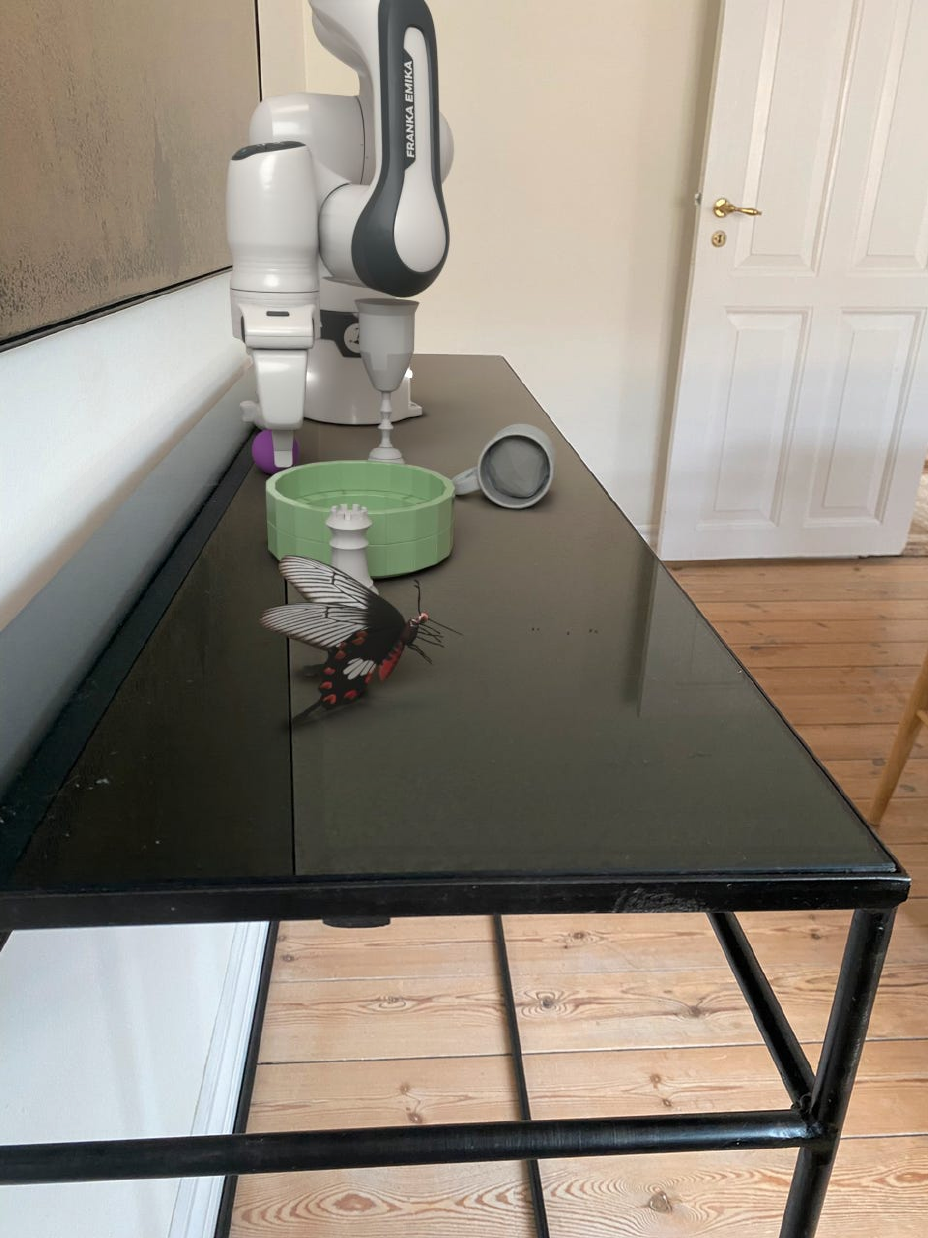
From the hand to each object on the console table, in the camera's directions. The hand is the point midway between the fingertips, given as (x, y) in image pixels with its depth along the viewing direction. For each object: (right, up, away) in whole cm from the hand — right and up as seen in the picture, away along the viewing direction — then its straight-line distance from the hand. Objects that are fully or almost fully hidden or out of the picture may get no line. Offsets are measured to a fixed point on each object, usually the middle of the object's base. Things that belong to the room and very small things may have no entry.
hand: (281, 454), depth 100 cm
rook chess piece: (+11, -17, -31) cm, 38 cm away
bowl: (+11, -12, -20) cm, 25 cm away
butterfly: (+13, -23, -44) cm, 52 cm away
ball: (-1, 0, 0) cm, 1 cm away
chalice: (+11, -1, +5) cm, 12 cm away
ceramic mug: (+24, -5, -3) cm, 24 cm away
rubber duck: (-6, +6, +19) cm, 21 cm away
